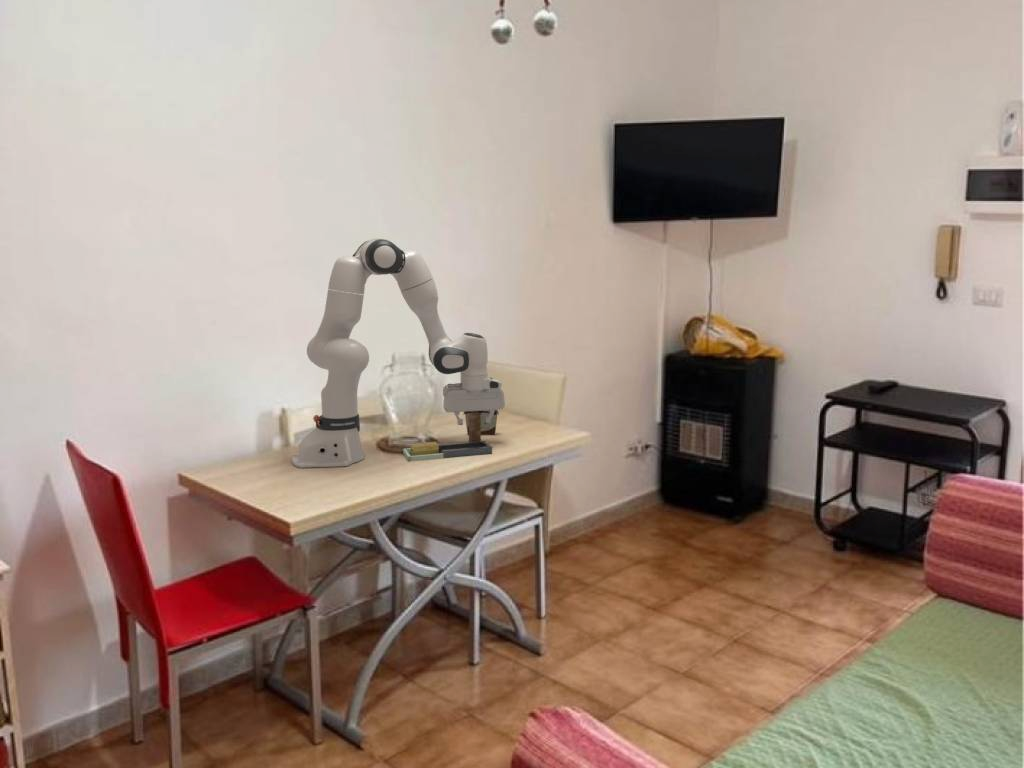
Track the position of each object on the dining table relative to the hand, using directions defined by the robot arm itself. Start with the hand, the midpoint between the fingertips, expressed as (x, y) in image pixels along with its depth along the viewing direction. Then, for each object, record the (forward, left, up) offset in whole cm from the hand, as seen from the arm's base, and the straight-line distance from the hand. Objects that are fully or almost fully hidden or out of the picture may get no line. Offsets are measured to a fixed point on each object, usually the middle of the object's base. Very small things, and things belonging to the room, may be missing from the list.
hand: (474, 423), depth 306 cm
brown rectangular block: (0, 0, -8) cm, 8 cm away
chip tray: (-19, -9, -8) cm, 22 cm away
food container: (+6, +13, -8) cm, 17 cm away
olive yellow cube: (-16, -9, -7) cm, 20 cm away
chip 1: (-20, -9, -7) cm, 23 cm away
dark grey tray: (-6, -9, -8) cm, 13 cm away
